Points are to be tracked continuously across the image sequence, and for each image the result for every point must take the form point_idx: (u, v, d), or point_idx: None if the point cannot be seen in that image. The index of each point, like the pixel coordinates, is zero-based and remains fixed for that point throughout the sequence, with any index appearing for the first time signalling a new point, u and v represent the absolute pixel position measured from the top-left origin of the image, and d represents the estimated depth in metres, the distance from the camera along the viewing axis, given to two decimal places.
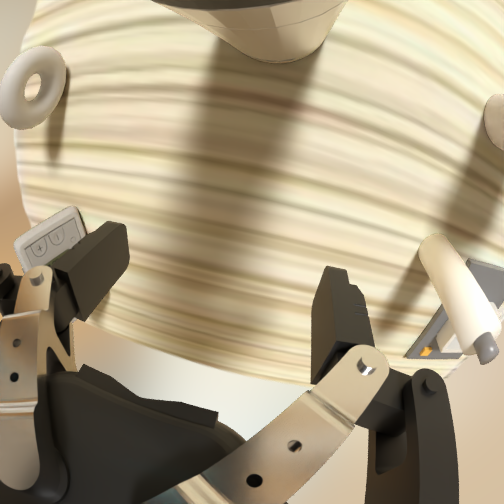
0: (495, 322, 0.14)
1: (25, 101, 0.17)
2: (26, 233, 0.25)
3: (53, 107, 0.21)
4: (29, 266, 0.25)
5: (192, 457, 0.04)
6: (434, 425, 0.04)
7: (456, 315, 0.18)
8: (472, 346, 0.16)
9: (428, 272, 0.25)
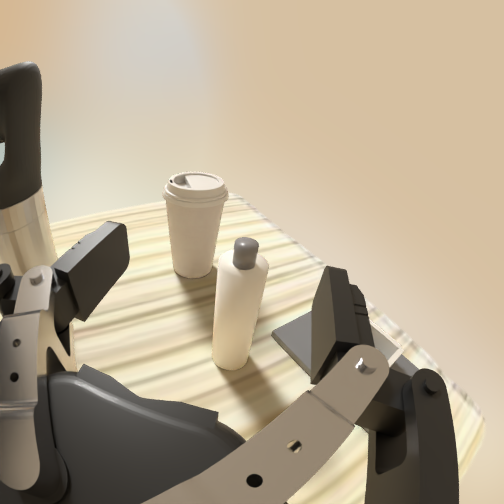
0: (231, 250, 0.25)
1: None
2: None
3: None
4: None
5: (192, 457, 0.04)
6: (434, 425, 0.04)
7: (219, 295, 0.24)
8: (243, 270, 0.23)
9: (223, 350, 0.28)
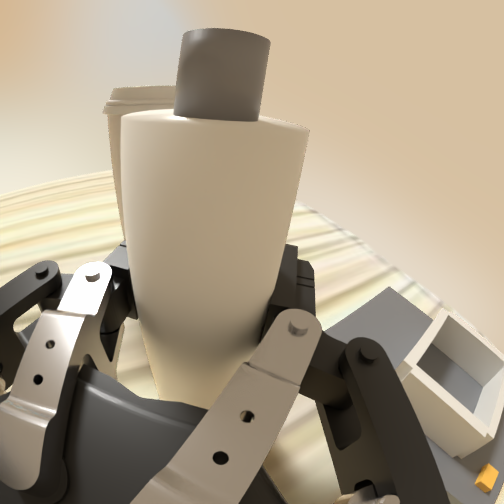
0: None
1: None
2: None
3: None
4: None
5: None
6: (382, 393, 0.05)
7: (127, 239, 0.06)
8: (210, 120, 0.05)
9: None
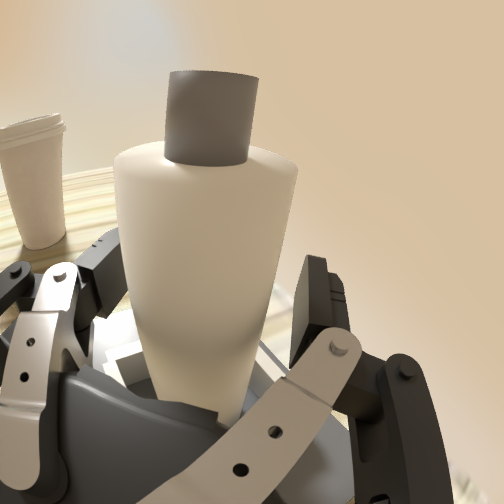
0: None
1: None
2: None
3: None
4: None
5: (192, 457, 0.04)
6: (414, 410, 0.04)
7: (126, 275, 0.06)
8: (198, 167, 0.05)
9: None
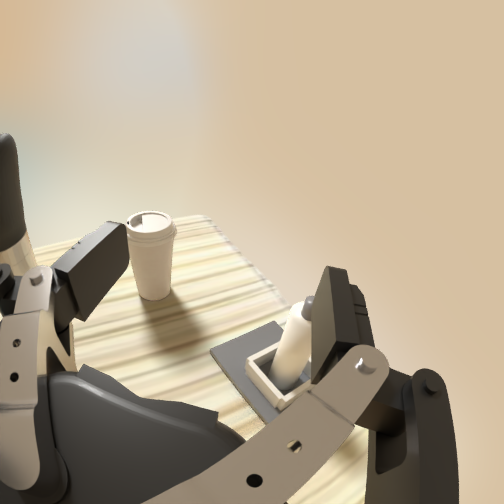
0: (297, 303, 0.31)
1: None
2: None
3: None
4: None
5: (192, 457, 0.04)
6: (434, 425, 0.04)
7: (289, 338, 0.30)
8: None
9: (282, 376, 0.34)
